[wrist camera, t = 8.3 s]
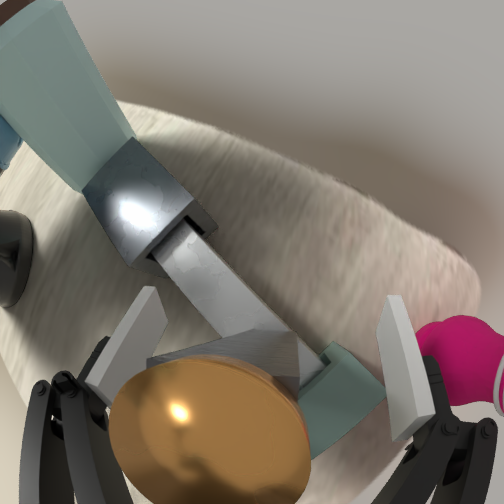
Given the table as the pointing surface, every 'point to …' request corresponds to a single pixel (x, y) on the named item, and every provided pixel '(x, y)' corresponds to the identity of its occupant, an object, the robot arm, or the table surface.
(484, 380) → the pepper mill
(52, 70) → the water bottle
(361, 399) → the socket block
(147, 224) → the charcoal rectangular brick
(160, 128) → the table surface
